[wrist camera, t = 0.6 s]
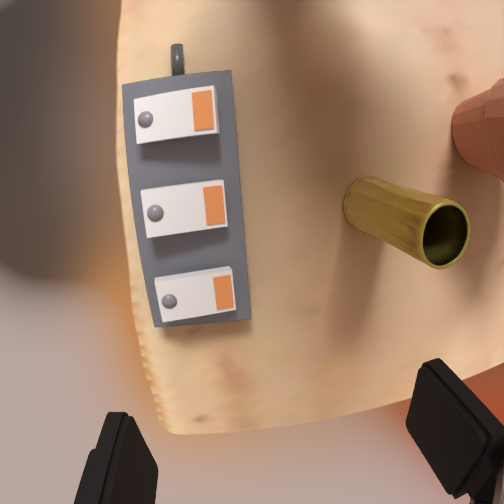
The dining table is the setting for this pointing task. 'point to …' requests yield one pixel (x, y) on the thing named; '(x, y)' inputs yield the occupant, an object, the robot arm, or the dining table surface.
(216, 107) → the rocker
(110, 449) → the robot arm
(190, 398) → the dining table surface
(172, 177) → the power strip
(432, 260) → the vase
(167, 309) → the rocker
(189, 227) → the rocker mid
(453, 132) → the potted plant
